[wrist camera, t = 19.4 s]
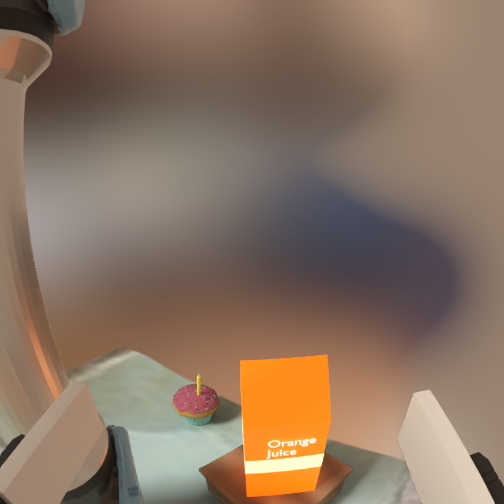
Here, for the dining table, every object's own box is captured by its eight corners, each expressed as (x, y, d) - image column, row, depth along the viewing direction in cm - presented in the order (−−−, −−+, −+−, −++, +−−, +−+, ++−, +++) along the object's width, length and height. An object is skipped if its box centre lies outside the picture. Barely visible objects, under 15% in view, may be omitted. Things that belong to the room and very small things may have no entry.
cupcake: (229, 415, 54) (226, 366, 51) (200, 439, 47) (191, 390, 44) (197, 398, 58) (190, 350, 55) (167, 418, 52) (156, 370, 49)
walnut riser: (273, 550, 25) (275, 536, 23) (203, 489, 36) (198, 469, 34) (345, 489, 34) (353, 468, 33) (275, 445, 45) (276, 423, 44)
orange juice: (243, 455, 37) (238, 341, 32) (305, 450, 38) (318, 336, 33) (246, 498, 30) (240, 385, 25) (315, 491, 30) (340, 377, 25)
